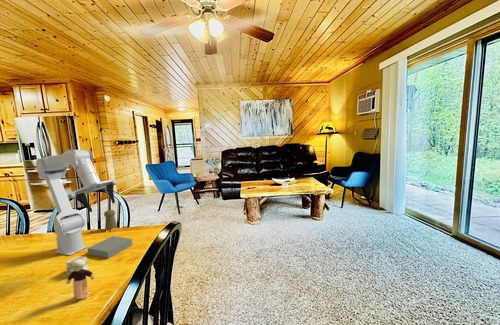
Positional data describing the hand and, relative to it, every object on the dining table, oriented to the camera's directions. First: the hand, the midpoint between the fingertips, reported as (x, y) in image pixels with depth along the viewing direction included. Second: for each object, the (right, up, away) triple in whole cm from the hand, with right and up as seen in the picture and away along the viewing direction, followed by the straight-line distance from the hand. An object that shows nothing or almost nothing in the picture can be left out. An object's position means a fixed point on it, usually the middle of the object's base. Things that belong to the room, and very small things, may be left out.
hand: (102, 206), depth 81 cm
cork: (-21, -21, +38) cm, 48 cm away
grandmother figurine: (+4, -26, -15) cm, 30 cm away
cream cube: (-9, -25, -1) cm, 26 cm away
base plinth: (-7, -23, +15) cm, 28 cm away
